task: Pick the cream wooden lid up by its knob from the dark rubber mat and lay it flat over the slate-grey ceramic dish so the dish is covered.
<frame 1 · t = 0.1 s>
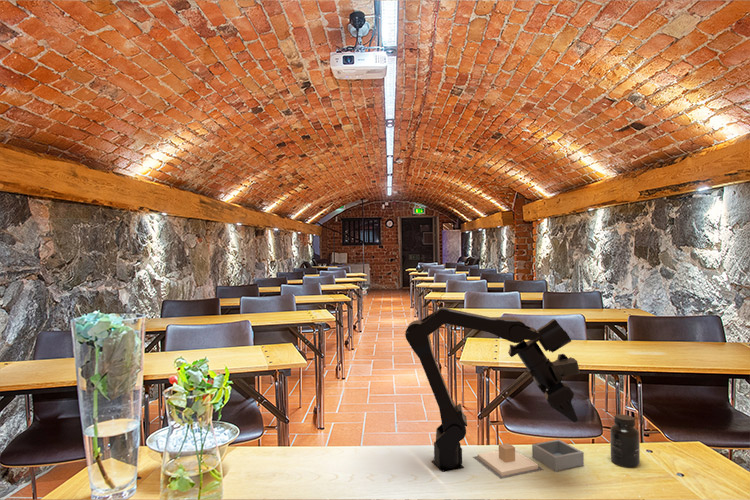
hand: (571, 414, 117), 15 cm above the table, tool tilted 35°, fingers open, 9 cm apart
mat: (507, 465, 122), on the table
supplement bottle: (625, 463, 123), on the table
lid: (507, 463, 122), on the table, touching mat
dish: (557, 463, 123), on the table
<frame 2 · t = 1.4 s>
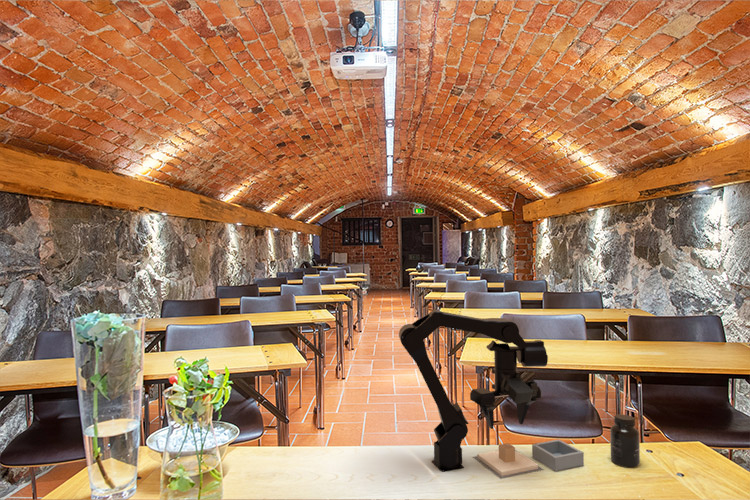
hand: (506, 426, 122), 10 cm above the table, tool pointing down, fingers open, 9 cm apart
nothing on the table moved.
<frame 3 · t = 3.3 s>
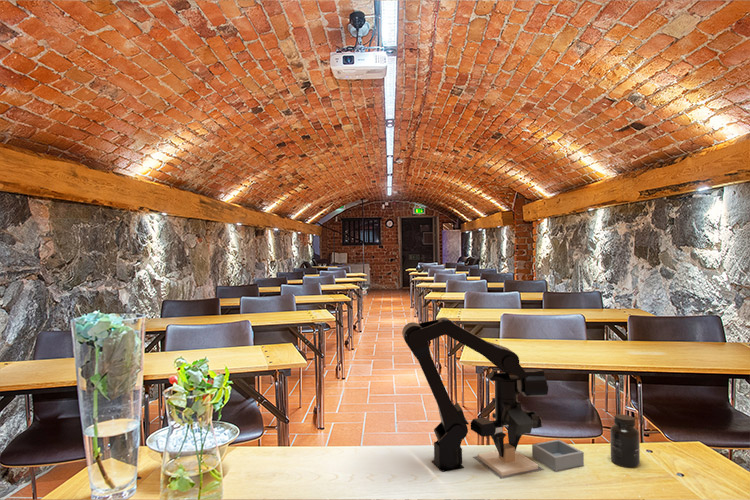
hand: (506, 455, 122), 3 cm above the table, tool pointing down, fingers closed on lid, 3 cm apart
lid: (507, 463, 122), on the table, touching gripper, mat
everything else where it was.
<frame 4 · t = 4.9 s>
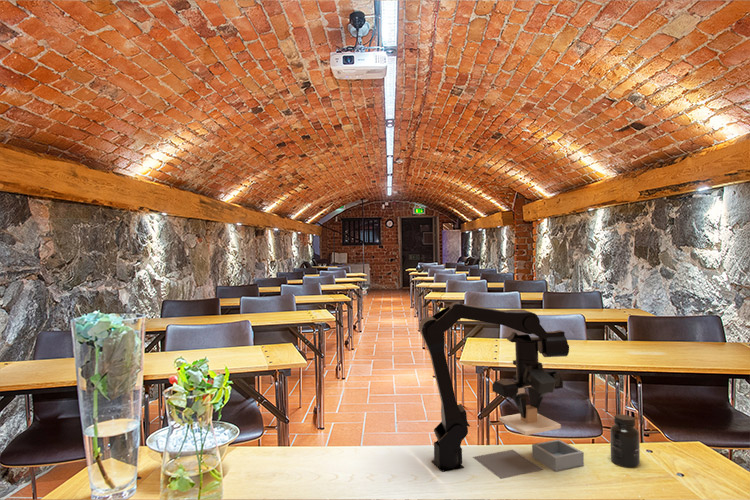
hand: (529, 416, 123), 13 cm above the table, tool pointing down, fingers closed on lid, 3 cm apart
lid: (529, 424, 123), point 11 cm above the table, touching gripper
everything else where it was.
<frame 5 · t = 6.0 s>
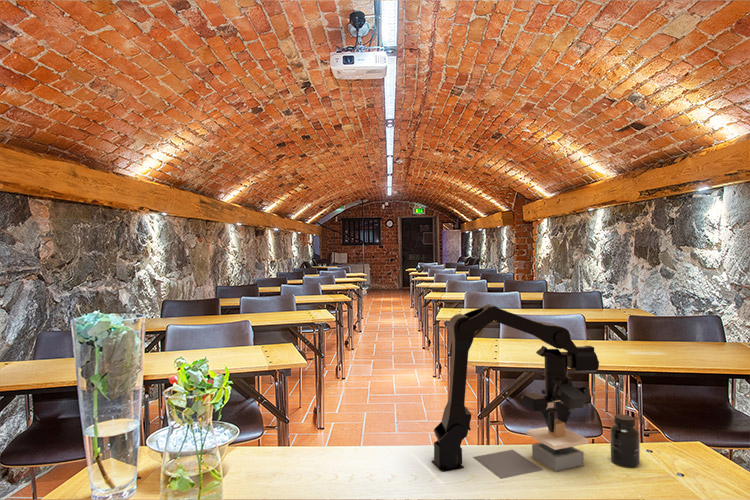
hand: (556, 431, 123), 9 cm above the table, tool pointing down, fingers closed on lid, 3 cm apart
lid: (556, 438, 123), point 7 cm above the table, touching gripper
everything else where it was.
when the fingers open (7 cm above the table, at t = 6.8 s): lid drops 2 cm, resting on dish.
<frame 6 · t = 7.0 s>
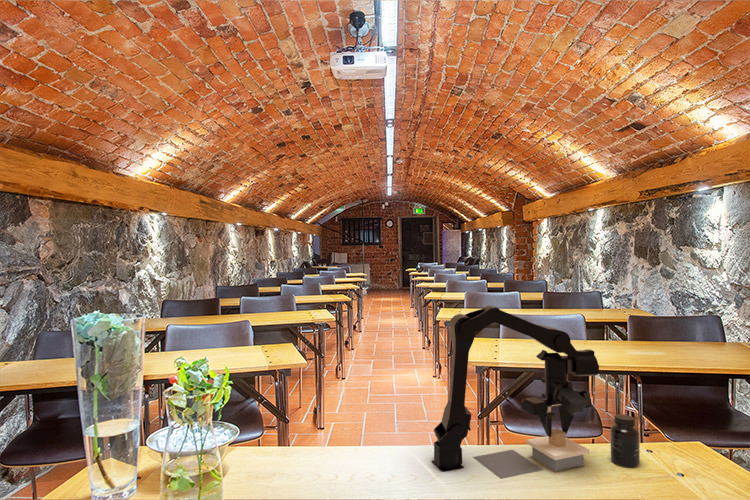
hand: (556, 435, 123), 7 cm above the table, tool pointing down, fingers open, 5 cm apart
lid: (557, 448, 123), point 4 cm above the table, touching dish
everything else where it was.
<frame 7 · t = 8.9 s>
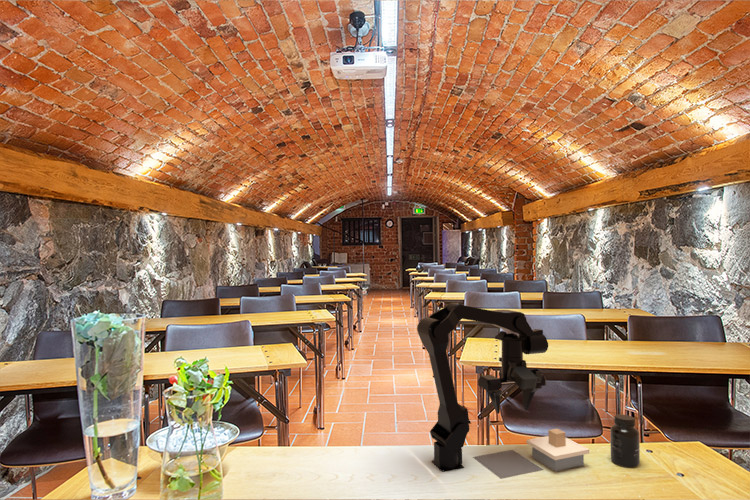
hand: (512, 411, 130), 12 cm above the table, tool pointing down, fingers open, 9 cm apart
nothing on the table moved.
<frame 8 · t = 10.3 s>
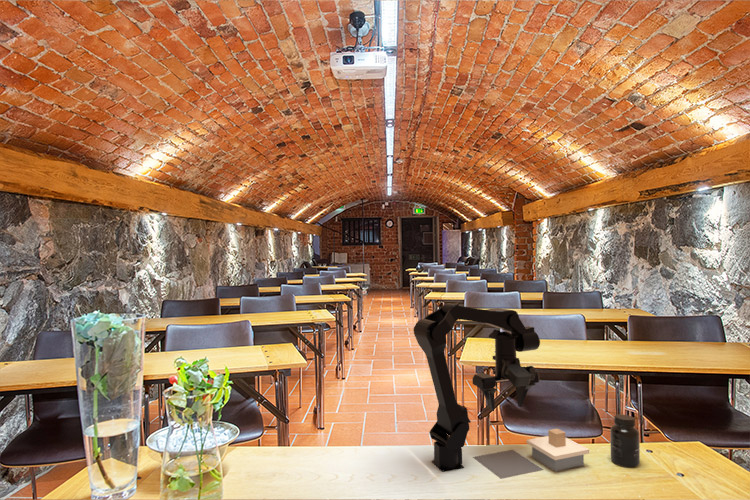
hand: (506, 408, 131), 12 cm above the table, tool pointing down, fingers open, 9 cm apart
nothing on the table moved.
at the end: lid 0.1 cm off-centre on the dish, point 4.0 cm above the dish's base; lid tilted 0°; the gripper is holding nothing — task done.
